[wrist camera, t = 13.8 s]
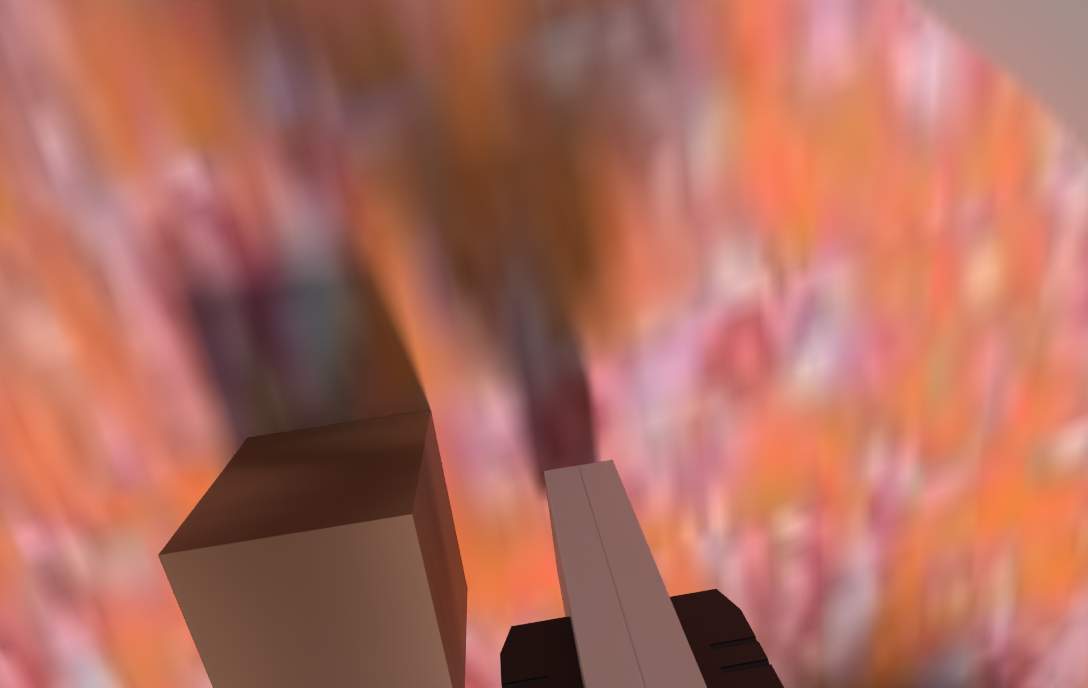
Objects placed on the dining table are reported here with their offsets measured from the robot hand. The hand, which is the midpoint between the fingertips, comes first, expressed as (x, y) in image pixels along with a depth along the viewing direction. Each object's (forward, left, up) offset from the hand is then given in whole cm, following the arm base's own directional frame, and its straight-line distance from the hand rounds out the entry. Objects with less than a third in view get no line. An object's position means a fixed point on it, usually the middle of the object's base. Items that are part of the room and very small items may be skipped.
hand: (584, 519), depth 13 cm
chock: (-5, 0, -1) cm, 5 cm away
